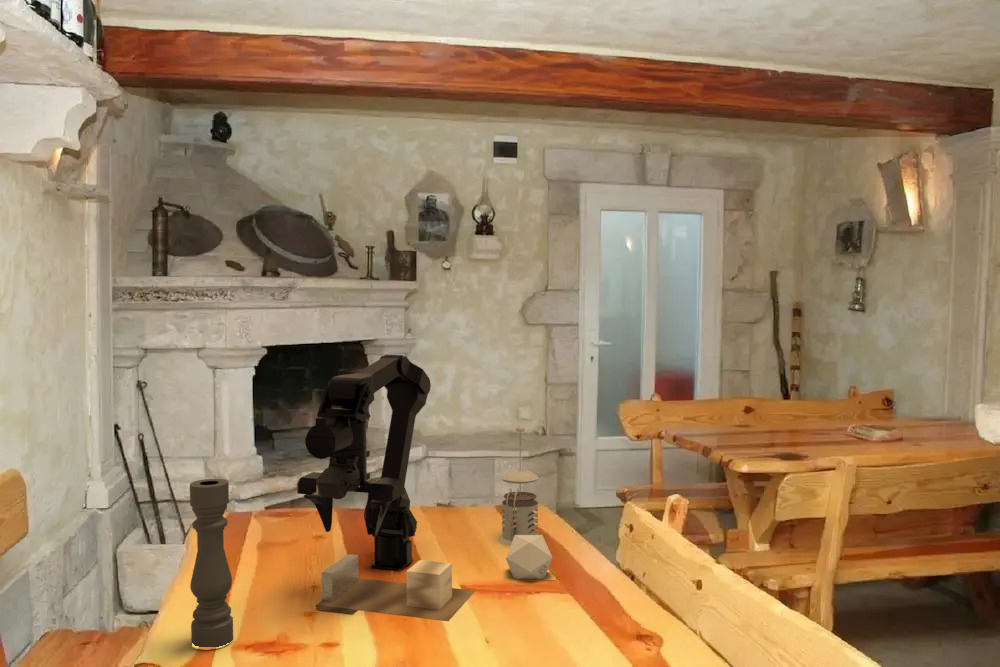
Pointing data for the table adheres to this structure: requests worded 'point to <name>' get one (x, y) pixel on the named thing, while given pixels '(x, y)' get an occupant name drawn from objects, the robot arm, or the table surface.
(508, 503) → the french press
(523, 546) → the die
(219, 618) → the candle holder
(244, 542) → the table surface
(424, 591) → the cube
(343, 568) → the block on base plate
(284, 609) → the table surface
